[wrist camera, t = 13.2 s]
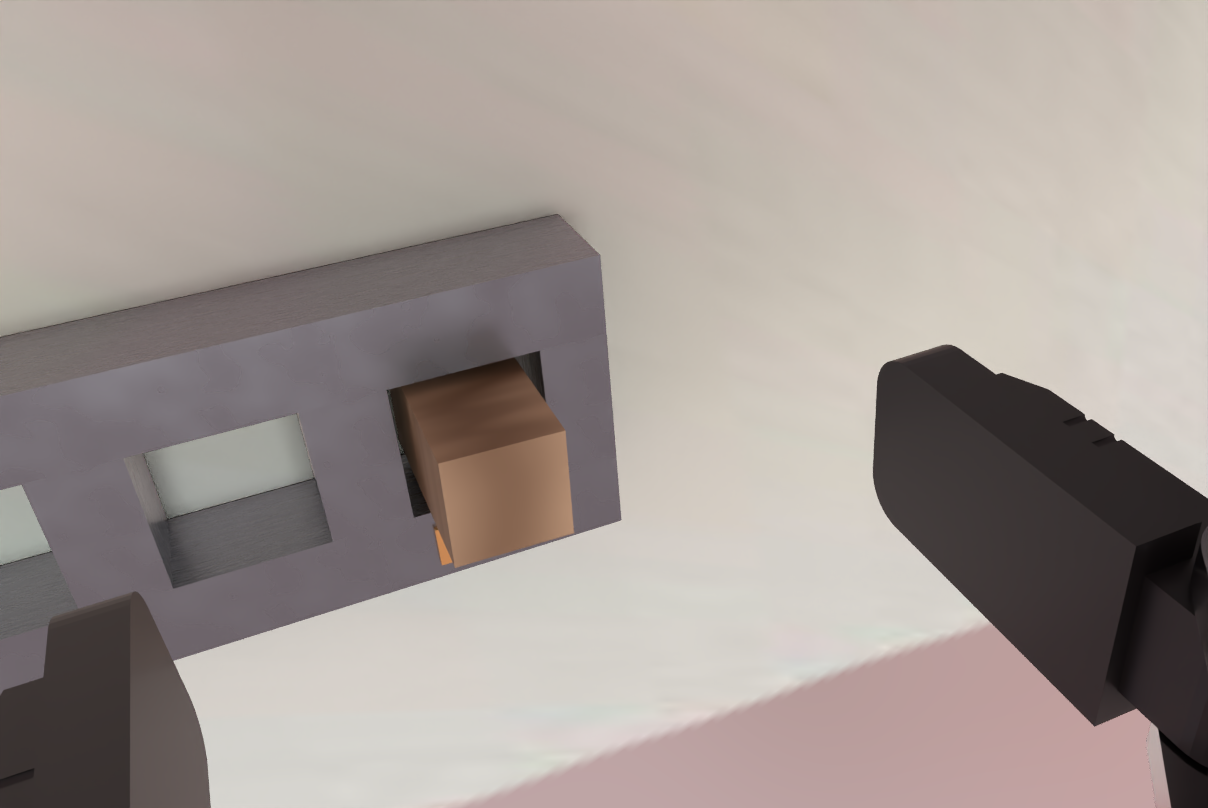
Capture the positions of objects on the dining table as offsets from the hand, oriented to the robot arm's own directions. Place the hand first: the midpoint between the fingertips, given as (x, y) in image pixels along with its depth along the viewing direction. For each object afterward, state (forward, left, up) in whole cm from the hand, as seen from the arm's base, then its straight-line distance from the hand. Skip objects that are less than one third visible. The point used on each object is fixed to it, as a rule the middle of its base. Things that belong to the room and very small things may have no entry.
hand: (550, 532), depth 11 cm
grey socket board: (+4, +13, -25) cm, 29 cm away
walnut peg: (-4, +13, -25) cm, 29 cm away
